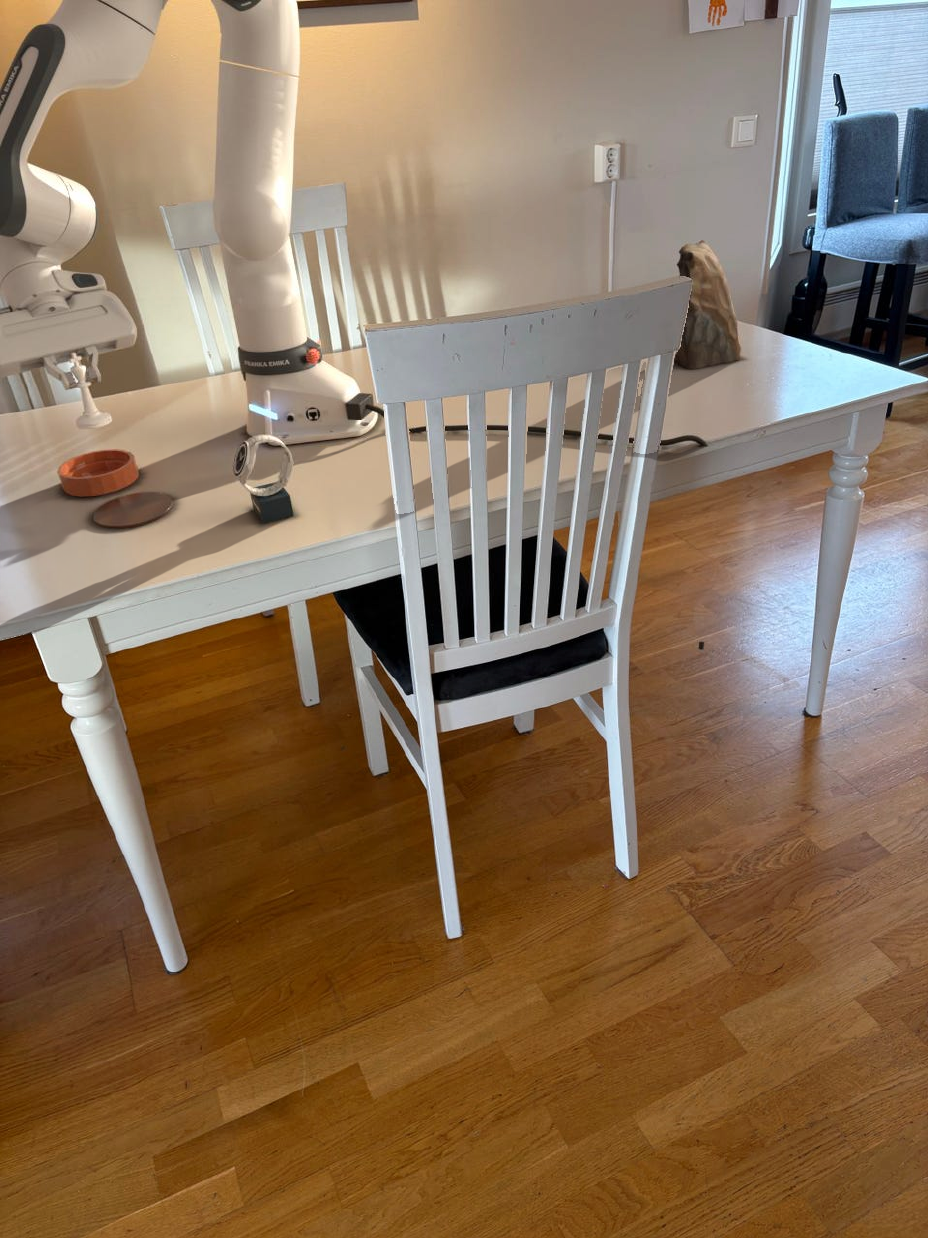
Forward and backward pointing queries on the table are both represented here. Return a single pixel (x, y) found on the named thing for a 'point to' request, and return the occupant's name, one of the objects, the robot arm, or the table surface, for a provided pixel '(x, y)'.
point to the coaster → (133, 510)
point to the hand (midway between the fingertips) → (84, 383)
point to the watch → (270, 497)
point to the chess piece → (87, 399)
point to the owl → (707, 311)
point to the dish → (98, 472)
